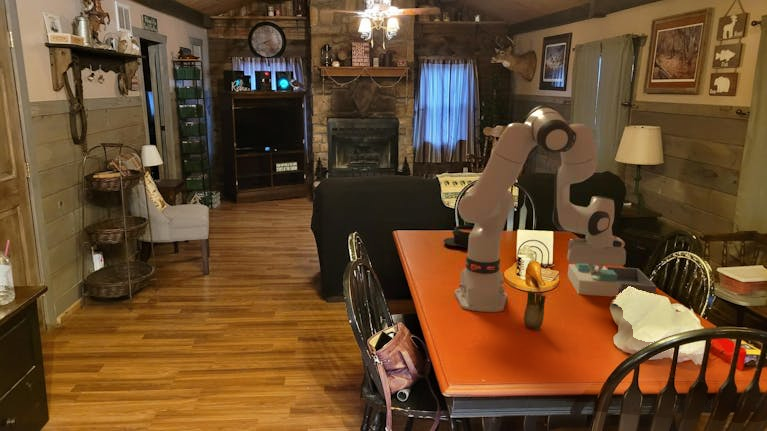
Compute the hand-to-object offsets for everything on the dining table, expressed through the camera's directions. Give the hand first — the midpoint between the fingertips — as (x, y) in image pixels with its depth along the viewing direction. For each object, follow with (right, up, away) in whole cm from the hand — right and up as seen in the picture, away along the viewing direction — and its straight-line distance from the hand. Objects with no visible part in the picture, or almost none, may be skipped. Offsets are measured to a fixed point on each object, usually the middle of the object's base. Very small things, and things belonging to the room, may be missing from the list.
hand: (594, 275), depth 203 cm
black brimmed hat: (-38, +8, +56) cm, 68 cm away
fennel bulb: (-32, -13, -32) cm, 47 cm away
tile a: (+4, -1, 0) cm, 5 cm away
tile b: (0, +1, +10) cm, 10 cm away
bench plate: (+1, -5, +6) cm, 8 cm away
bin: (+15, -6, +5) cm, 17 cm away
